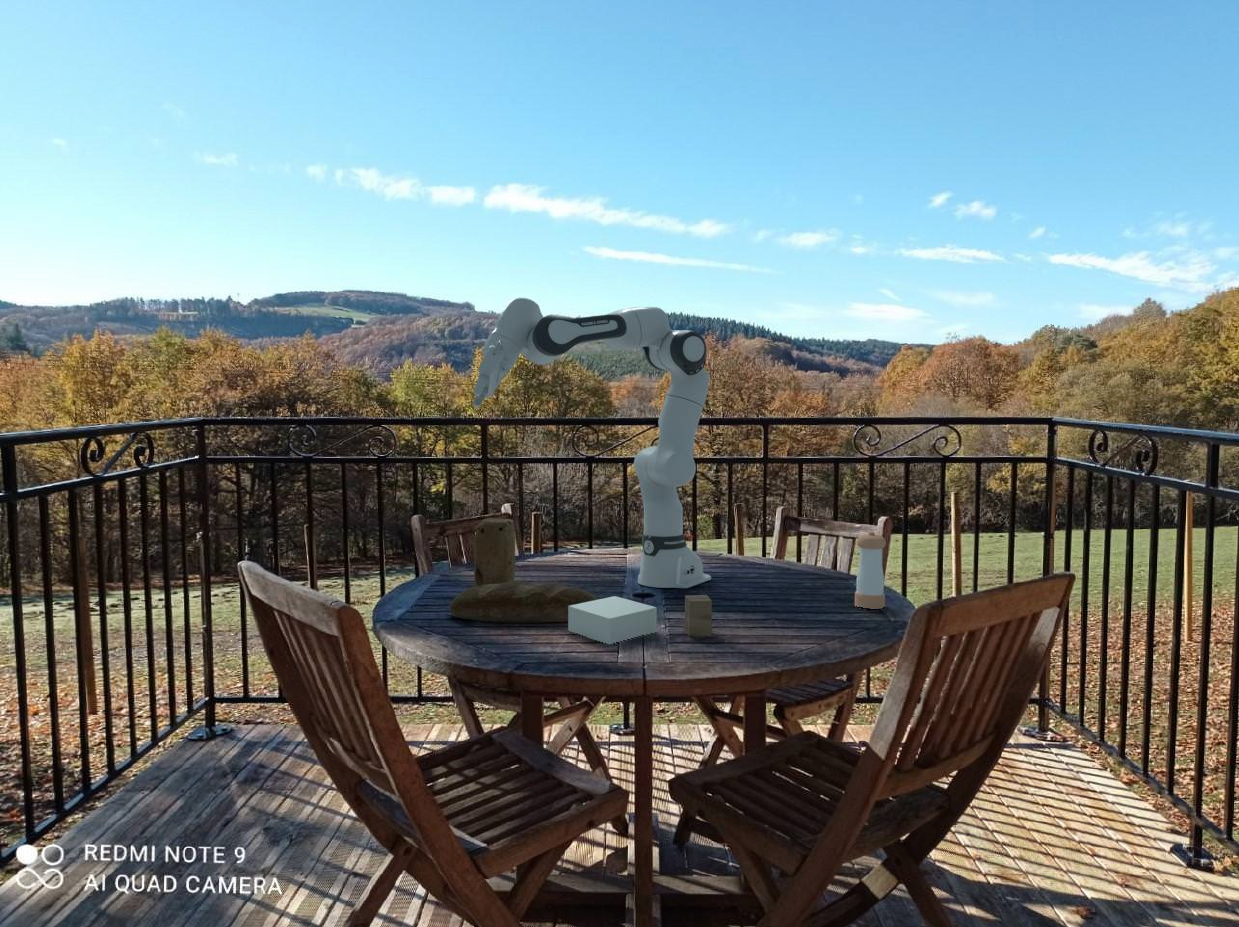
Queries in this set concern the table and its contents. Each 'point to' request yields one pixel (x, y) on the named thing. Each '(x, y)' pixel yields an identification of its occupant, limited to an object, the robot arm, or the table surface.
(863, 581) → the pepper shaker
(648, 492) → the robot arm
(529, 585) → the bread
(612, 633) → the painted base block
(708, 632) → the walnut block
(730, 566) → the table surface
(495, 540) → the block
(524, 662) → the table surface
